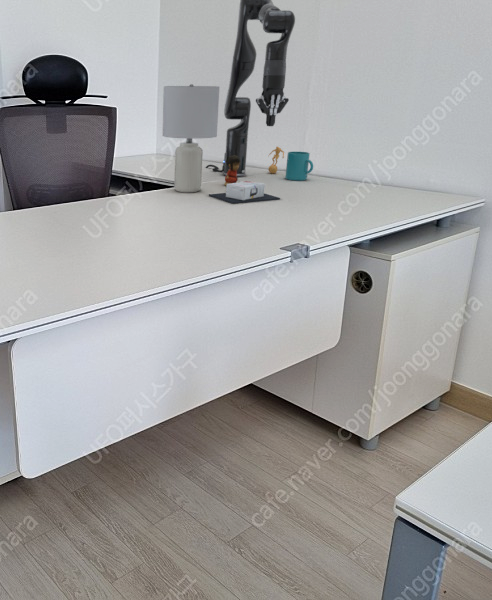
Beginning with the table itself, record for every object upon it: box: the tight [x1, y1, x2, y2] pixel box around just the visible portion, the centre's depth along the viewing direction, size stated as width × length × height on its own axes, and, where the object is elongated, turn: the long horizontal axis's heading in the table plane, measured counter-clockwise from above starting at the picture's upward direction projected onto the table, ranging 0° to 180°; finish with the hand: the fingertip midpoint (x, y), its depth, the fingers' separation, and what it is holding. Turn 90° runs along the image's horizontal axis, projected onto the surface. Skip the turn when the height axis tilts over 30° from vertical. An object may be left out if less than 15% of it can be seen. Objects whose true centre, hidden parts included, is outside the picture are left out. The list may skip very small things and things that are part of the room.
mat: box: [208, 192, 281, 205], centre depth 217 cm, size 16×20×1 cm
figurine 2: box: [267, 146, 285, 175], centre depth 270 cm, size 8×6×12 cm
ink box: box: [225, 180, 266, 200], centre depth 213 cm, size 9×5×12 cm
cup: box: [284, 151, 314, 182], centre depth 253 cm, size 9×12×11 cm
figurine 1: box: [224, 155, 241, 186], centre depth 239 cm, size 6×6×12 cm
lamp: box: [162, 83, 220, 193], centre depth 223 cm, size 20×20×39 cm
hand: (270, 126), depth 211 cm, fingers closed
